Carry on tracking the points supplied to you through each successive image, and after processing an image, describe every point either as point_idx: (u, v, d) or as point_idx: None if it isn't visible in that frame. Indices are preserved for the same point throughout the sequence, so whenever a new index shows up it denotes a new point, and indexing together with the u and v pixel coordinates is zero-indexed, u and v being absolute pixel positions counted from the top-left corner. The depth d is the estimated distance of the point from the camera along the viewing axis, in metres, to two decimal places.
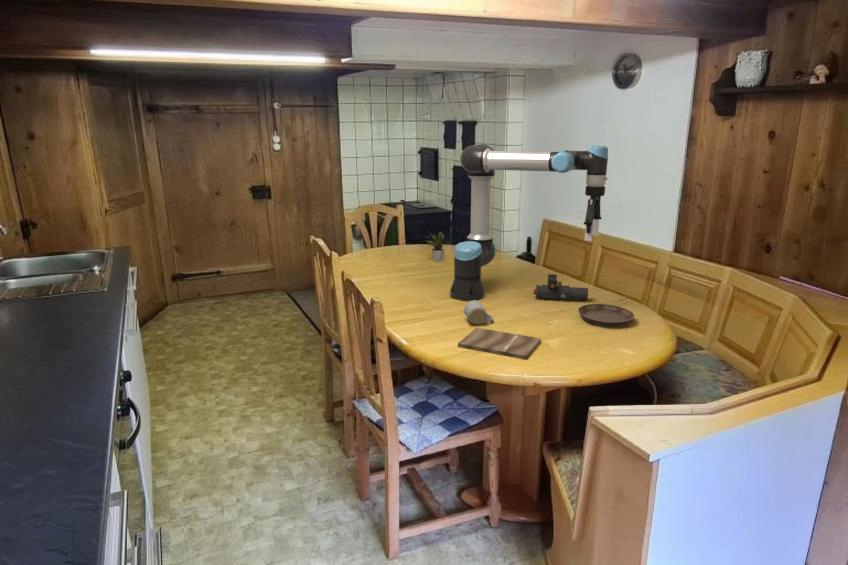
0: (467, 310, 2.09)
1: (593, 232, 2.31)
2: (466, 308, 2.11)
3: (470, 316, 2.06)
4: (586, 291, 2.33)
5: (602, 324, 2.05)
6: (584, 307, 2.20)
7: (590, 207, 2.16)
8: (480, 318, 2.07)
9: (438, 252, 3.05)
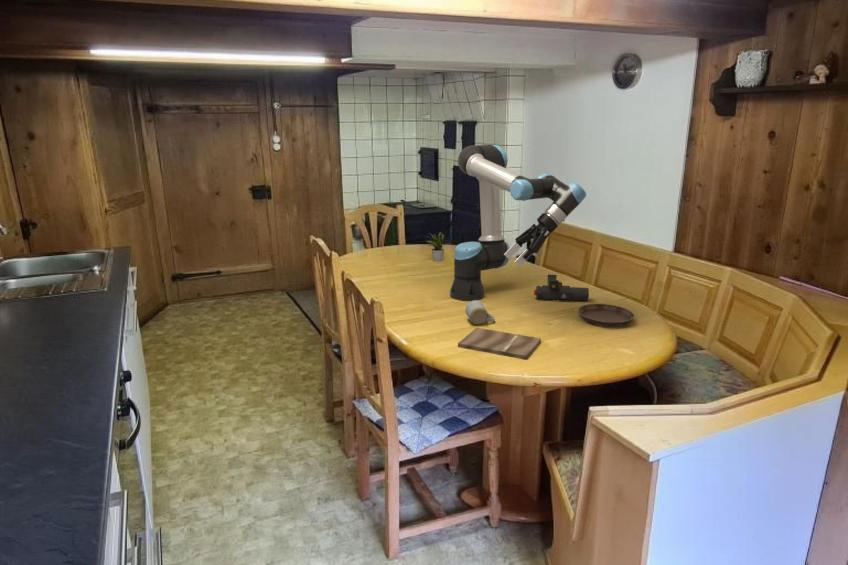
0: (468, 310, 2.09)
1: (508, 254, 2.13)
2: (467, 308, 2.11)
3: (471, 316, 2.06)
4: (587, 291, 2.34)
5: (602, 324, 2.05)
6: (584, 307, 2.20)
7: (543, 237, 1.99)
8: (481, 318, 2.07)
9: (438, 252, 3.05)
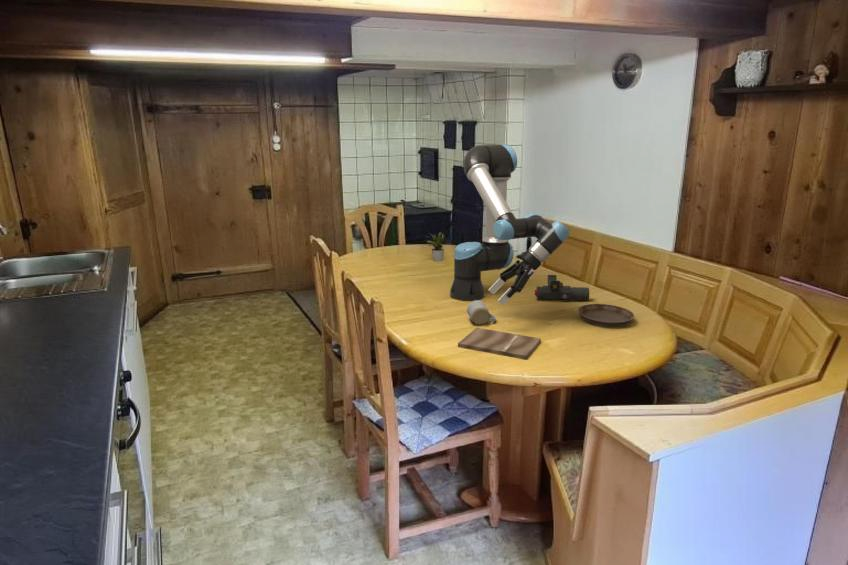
0: (470, 310, 2.09)
1: (492, 289, 2.14)
2: (469, 308, 2.11)
3: (473, 316, 2.06)
4: (587, 291, 2.34)
5: (602, 324, 2.05)
6: (584, 307, 2.20)
7: (526, 276, 2.00)
8: (483, 318, 2.07)
9: (438, 252, 3.05)
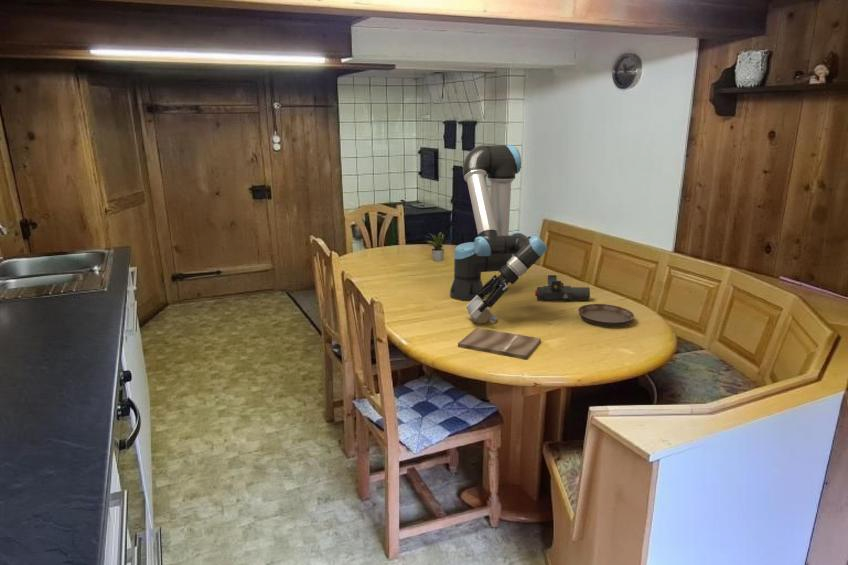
0: (471, 309, 2.09)
1: None
2: (470, 307, 2.11)
3: None
4: (588, 290, 2.34)
5: (602, 324, 2.05)
6: (584, 307, 2.20)
7: (500, 292, 2.03)
8: (484, 317, 2.07)
9: (438, 252, 3.05)
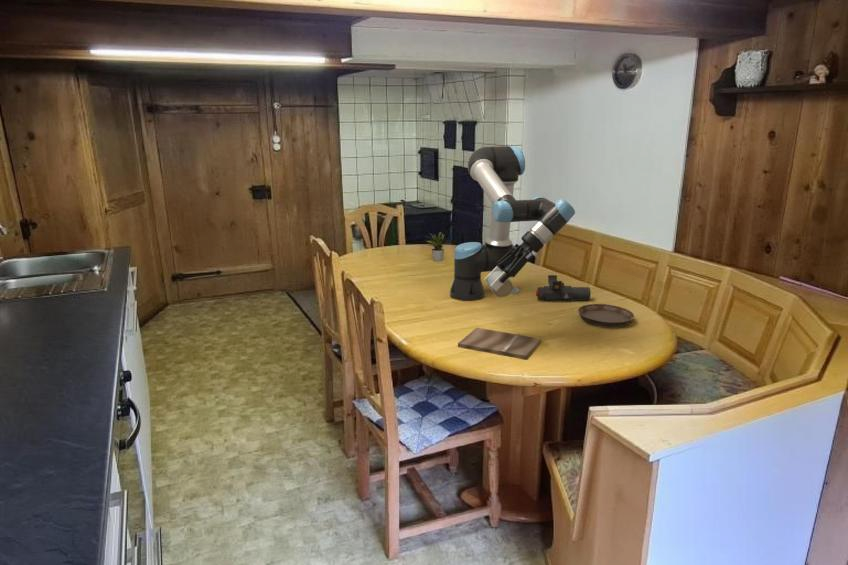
0: (491, 281, 1.90)
1: None
2: (489, 279, 1.92)
3: None
4: (588, 290, 2.34)
5: (602, 324, 2.05)
6: (584, 307, 2.20)
7: (524, 260, 1.83)
8: (505, 289, 1.88)
9: (438, 252, 3.05)
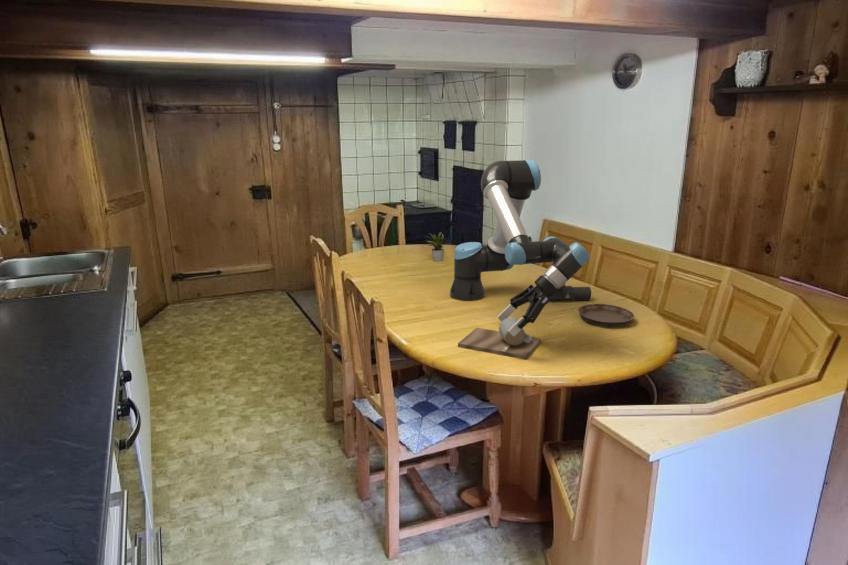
0: (503, 329, 1.85)
1: (501, 317, 1.92)
2: (502, 326, 1.87)
3: (507, 336, 1.83)
4: (589, 290, 2.35)
5: (602, 324, 2.05)
6: (584, 307, 2.20)
7: (541, 305, 1.77)
8: (518, 338, 1.83)
9: (438, 252, 3.05)
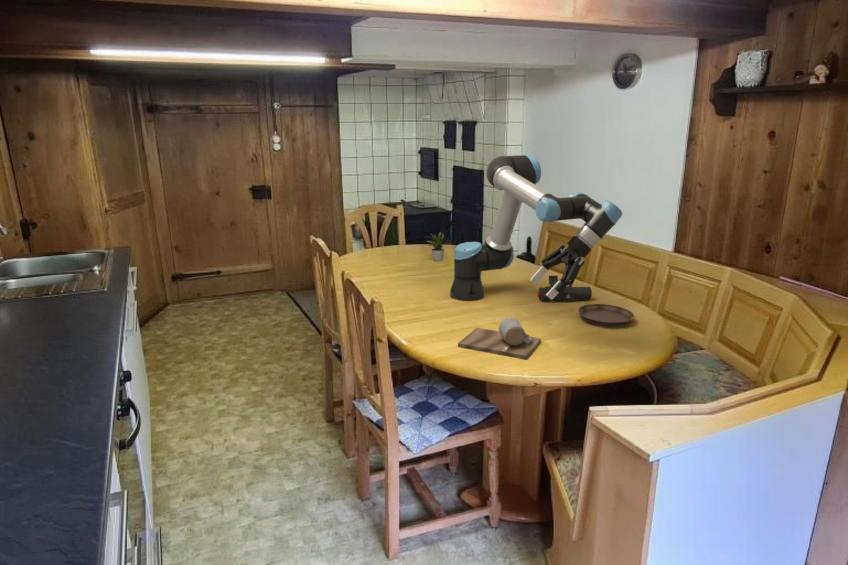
0: (503, 329, 1.85)
1: (534, 279, 1.93)
2: (502, 326, 1.87)
3: (507, 336, 1.83)
4: (589, 290, 2.35)
5: (602, 324, 2.05)
6: (584, 307, 2.20)
7: (577, 267, 1.79)
8: (518, 338, 1.83)
9: (438, 252, 3.05)
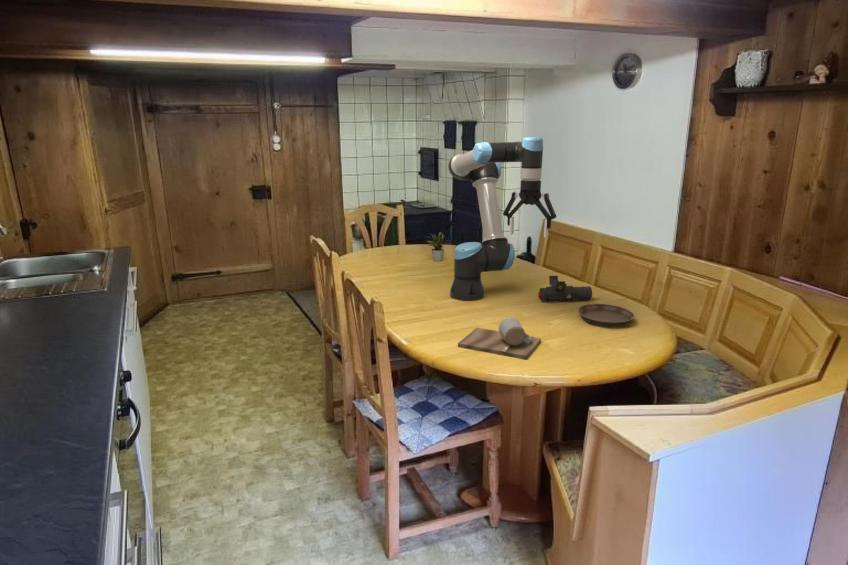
0: (503, 329, 1.85)
1: (512, 231, 2.14)
2: (502, 326, 1.87)
3: (507, 336, 1.83)
4: (590, 290, 2.35)
5: (602, 324, 2.05)
6: (584, 307, 2.20)
7: (549, 201, 2.05)
8: (518, 338, 1.83)
9: (438, 252, 3.05)
